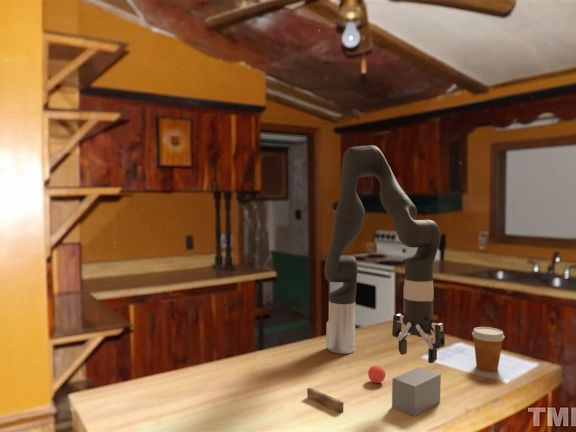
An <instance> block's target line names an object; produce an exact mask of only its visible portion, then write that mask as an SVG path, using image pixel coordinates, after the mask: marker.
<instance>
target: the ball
mask: <svg viewBox="0 0 576 432" xmlns="http://www.w3.org/2000/svg"><path fill="white" fill-rule="evenodd" d="M367 375H368V378H369V380H370V381H371V382H372V383H374V384H380V383H382V382H384V380H385V378H386V371H385V369H384V368H383V367H382V366H381V365H377V364H374V365H372V366H370V368H369V369H368V372H367Z"/></svg>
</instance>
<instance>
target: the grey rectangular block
mask: <svg viewBox="0 0 576 432" xmlns="http://www.w3.org/2000/svg"><path fill="white" fill-rule="evenodd" d="M441 377H442V375H441V374H440V373H438V372H435V371H431V370H429V369H427V368H426V369H425V368H421V367H418V366H417V367H416V368H414V369H411V370H409V371H406V372H404V373H402V374H400V375H398V376H395V377H393V378H392V380H391V381H392V387H391V393H392V394H391V408H392V409H393V408H394V409H396V410H398V411H401V412H403V413H406V414H408V415H410V416H413V417H416V416H417V415H419V414H421V413H423V412H425V411H427V410H428V409H431V408H432V407H434V406H435V405H438V404H440V403H441V384H442V383H441V382H442V381H441Z"/></svg>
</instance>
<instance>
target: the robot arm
mask: <svg viewBox="0 0 576 432" xmlns="http://www.w3.org/2000/svg"><path fill="white" fill-rule="evenodd" d="M341 166H342V167H341V179H340V180H341V181H340V189H339V195H338V202H337V207H336V210H335V211H336V212H335V217H334V222H333V230H332V236H331V241H330V245H329V249H328V252H327V256H326V260H325V264H324V277H325V279H326V280H327V282H331V283H344V284H343V285H342V286H341V287H339V288H337V289H335V290H333V291H331V292H330V293H329V295H328V320H327V321H326V331H325V332H326V336H325V338H326V341H325V343H326V346H325V348H326V349H328V350H329V352H331V353H334V354H340V355H341V354H342V355H345V354H352V353H354V352H355V349H356V348H355V347H356V296H357V284H358V283H357V281H358V261H357V259H356V257H355V255H342V254H343V253H344V251H345V250H346V249H347V248H348V247H349V245H351V244H352V243H353V242H354V241H355V240H356V238H358V236H359V235H360V234H361V232H362V229H363V225H364V221H365V216H366V212H365V207H364V205H363V202H362V200H361V199H360V197H359V195H358V193H357V184H358V180H359V178H364V177H372V176H374V177H375V178H376V179H377V180H378V181H379V183H380V189H379V199H380V203H381V205H382V207H383V209H384V210H385V212H386V213H387V215H388V216H389V217H390V218H391V220H392V222H393V225H394V228H395V231H396V235H397V237H398V240H399V241H400V242H401V243H402V244H403V246H406V247H408V248H412V249H413V248H417V249H416V252H415V253H414V254H413V255H411V256H408V257H406V259H405V262H404V263H405V264H404V283H403V299H402V300H403V301H402V302H403V303H402V304H403V305H402V306H403V307H402V308H403V309H402V310H403V311H402V312H403V315H402V313H397V314H393V317H392V337H395V338H397V341H398V351H399V354H400V355H402V356H403V355H406V354H408V351H407V350H408V340H407V338H408V337H409V336H410V335H411V336H417V337H418V338H422V340H423V341H424V342H425V343H426V344H427V346H428V347H429V348H427V349H428V351H427V352H428V353H427V358H428V359H427V362H428V364H434V363H435V362H436V361H437V360H438V349H440V348H444V347H445V345H446V341H445V340H446V339H445V324H444V323H443V322H440V323H436V322H434V321H433V316H434V295H435V294H434V292H435V291H434V280H433V279H434V277H433V276H434V262H435V260H436V256H437V252H438V249H439V246H440V242H441V230H440V228H439V225H438V224H437V222H436V221H434V220H431V219H416V216H417V214H418V210H417V207H416V205H415V204H414V203H413V201H412V200H411V199H410V197H409V196H408V195H407V194H406V192H405V191H404V190H403V188H402V186H400V184H399V182H398V180H397V178H396V177H395V175H394V173H393V171H392V169H391V166H390V165H389V164H388V161H387V159H386V158H385V155H384V154H383V152H382V151H381V149H380V148H378V146H376V145H370V144H369V145H358V146H350V147H348V148H347V149H346V150H345V152H344V154H343V159H342V165H341ZM402 324H404V326H405V327H404V328H403V329H402V326H403V325H402ZM432 329H433V330H432Z"/></svg>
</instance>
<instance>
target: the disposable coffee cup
mask: <svg viewBox="0 0 576 432" xmlns="http://www.w3.org/2000/svg"><path fill="white" fill-rule="evenodd" d="M471 334H472V337H473V343H474V344H473V345H474V355H475V365H476V368H477V369H479V370H481V371H484V372H496V371H498V370H499V364H500V359H501V352H502V348H503V347H502V346H503V341H504V339H505V335H504V331H503V330H500V329H499V328H496V327H495V328H494V327H491V326H490V327H489V326H488V327H487V326H478V327H474V328H473V331H472V332H471Z"/></svg>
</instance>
